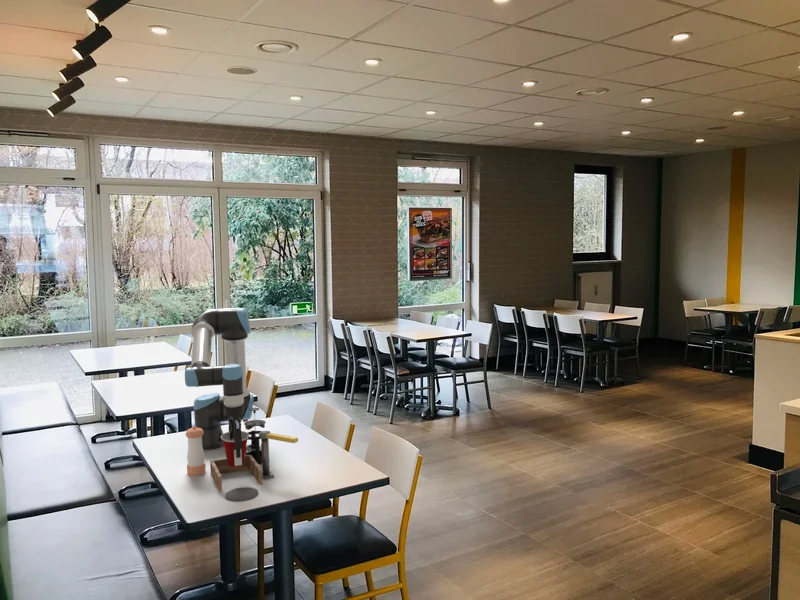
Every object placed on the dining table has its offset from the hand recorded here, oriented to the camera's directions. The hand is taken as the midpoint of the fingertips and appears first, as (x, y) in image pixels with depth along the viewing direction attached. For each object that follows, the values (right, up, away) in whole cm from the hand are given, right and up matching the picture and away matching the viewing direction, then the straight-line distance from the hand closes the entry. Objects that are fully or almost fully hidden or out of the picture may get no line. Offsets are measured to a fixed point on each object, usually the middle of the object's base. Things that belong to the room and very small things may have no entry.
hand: (236, 461), depth 253 cm
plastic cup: (0, -1, 0) cm, 2 cm away
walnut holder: (0, -8, +2) cm, 8 cm away
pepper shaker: (-19, -7, +11) cm, 23 cm away
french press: (+2, -6, +24) cm, 25 cm away
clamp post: (+11, -7, +5) cm, 14 cm away
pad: (+6, -9, -14) cm, 17 cm away
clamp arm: (+16, +8, 0) cm, 18 cm away
